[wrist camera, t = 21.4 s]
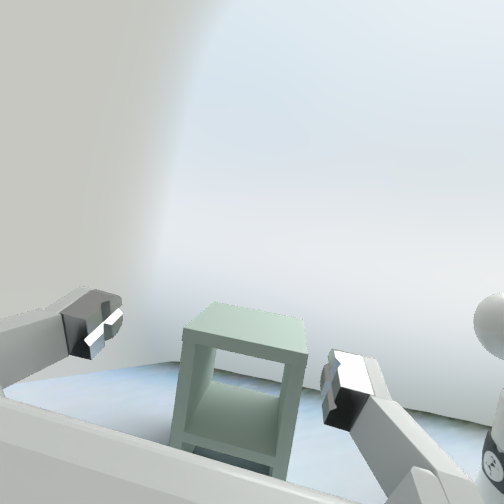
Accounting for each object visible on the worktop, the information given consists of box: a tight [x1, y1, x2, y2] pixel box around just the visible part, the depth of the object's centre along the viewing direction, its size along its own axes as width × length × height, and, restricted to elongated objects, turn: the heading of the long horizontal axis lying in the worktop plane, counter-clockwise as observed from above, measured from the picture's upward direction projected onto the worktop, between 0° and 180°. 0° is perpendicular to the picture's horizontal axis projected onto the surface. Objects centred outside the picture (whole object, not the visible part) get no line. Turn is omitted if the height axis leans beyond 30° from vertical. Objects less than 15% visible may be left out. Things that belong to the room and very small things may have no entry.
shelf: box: [169, 302, 308, 481], centre depth 44 cm, size 18×15×26 cm
